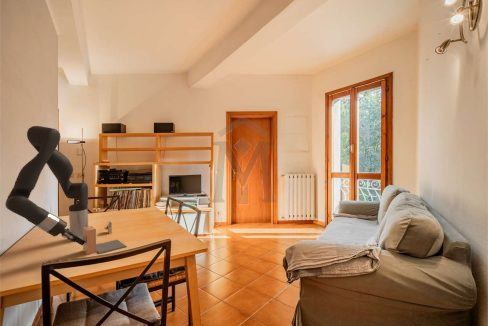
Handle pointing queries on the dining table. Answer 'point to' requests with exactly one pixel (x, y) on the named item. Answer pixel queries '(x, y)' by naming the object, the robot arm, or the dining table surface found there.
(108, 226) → the architectural model
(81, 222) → the robot arm
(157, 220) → the dining table surface
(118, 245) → the mat
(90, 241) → the pink rectangular block
